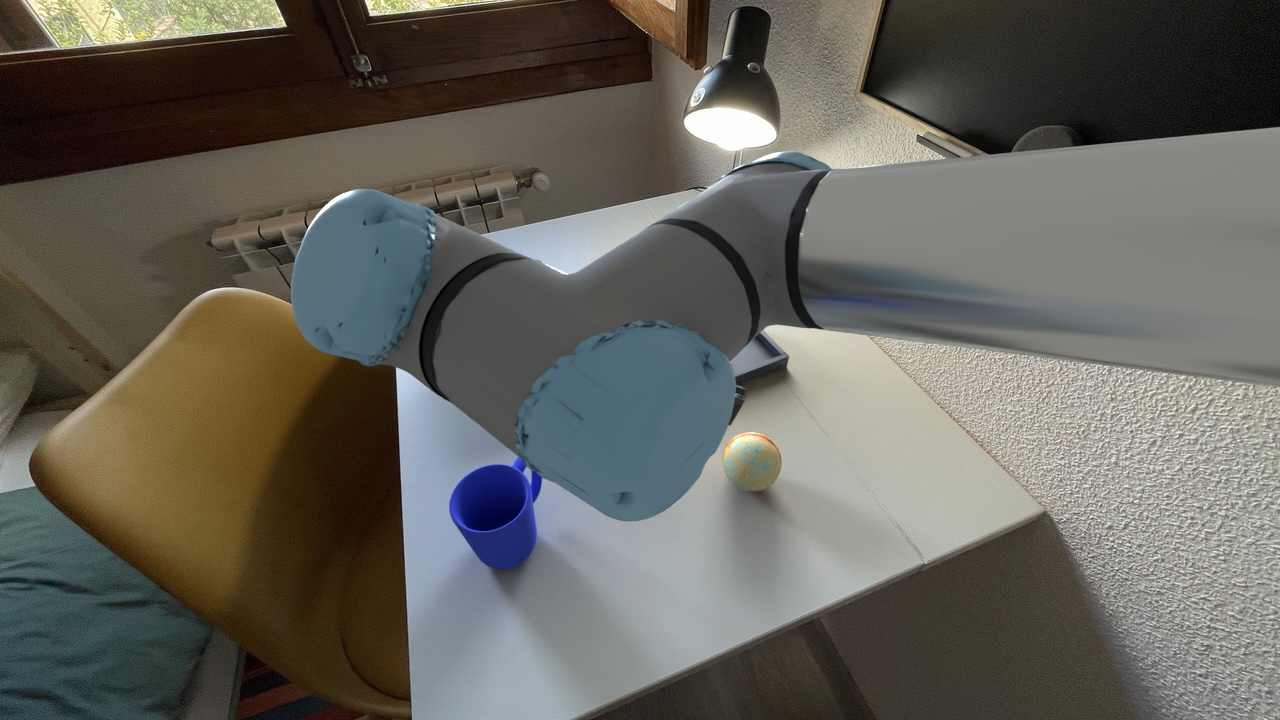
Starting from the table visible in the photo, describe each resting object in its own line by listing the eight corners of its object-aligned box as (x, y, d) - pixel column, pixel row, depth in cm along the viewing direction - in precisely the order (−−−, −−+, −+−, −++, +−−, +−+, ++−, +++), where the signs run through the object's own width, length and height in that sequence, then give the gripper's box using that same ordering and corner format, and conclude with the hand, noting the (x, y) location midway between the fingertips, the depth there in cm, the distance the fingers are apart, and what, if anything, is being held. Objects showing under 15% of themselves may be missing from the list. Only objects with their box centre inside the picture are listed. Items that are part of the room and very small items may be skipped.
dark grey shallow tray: (786, 367, 82) (789, 356, 80) (703, 400, 78) (704, 389, 76) (746, 326, 89) (748, 315, 87) (668, 354, 84) (668, 343, 83)
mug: (574, 501, 66) (565, 452, 59) (517, 592, 58) (500, 547, 51) (517, 477, 69) (502, 427, 62) (456, 561, 61) (431, 515, 54)
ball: (766, 511, 65) (775, 478, 60) (711, 488, 67) (716, 454, 62) (783, 467, 69) (793, 433, 64) (731, 447, 72) (737, 412, 67)
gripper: (441, 311, 42) (602, 356, 61) (654, 479, 31) (769, 468, 50) (484, 223, 41) (634, 296, 60) (720, 363, 30) (812, 398, 49)
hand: (696, 374), depth 55 cm, fingers closed on ink box, 9 cm apart
